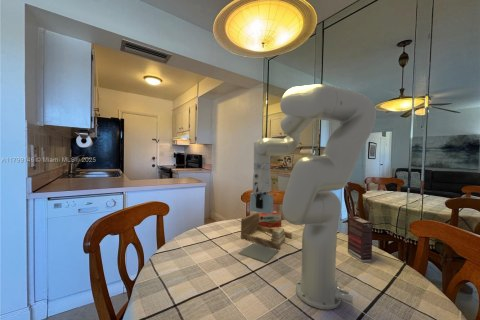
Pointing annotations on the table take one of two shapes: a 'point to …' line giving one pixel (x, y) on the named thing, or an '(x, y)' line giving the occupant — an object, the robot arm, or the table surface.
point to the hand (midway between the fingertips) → (261, 206)
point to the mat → (259, 252)
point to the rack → (252, 225)
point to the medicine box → (270, 219)
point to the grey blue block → (266, 203)
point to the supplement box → (360, 238)
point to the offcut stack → (278, 235)
